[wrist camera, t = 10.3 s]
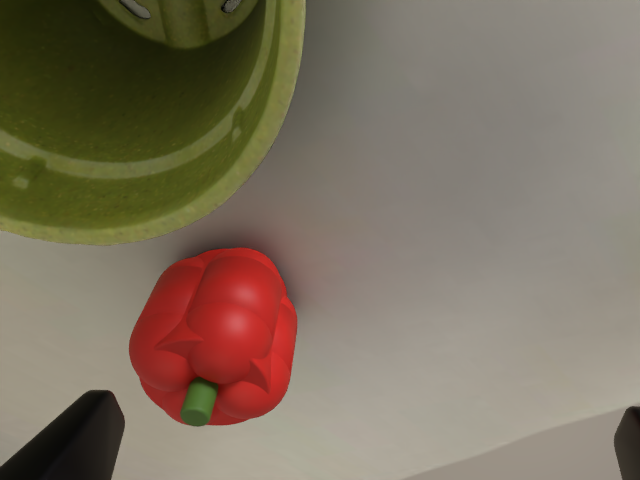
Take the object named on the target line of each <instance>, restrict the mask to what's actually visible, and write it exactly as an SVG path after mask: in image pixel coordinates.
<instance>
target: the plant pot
mask: <svg viewBox="0 0 640 480" xmlns="http://www.w3.org/2000/svg"><path fill="white" fill-rule="evenodd" d="M134 1H135V2H136V3H138V4H139V5H141V6H143V7H145V8H146V9H147V10H148V11H149V12H150V15H151V17H150V18H149V19H143V18H139V17H137V16H136V15H134V14H132V13H131V12H130V11H129V10H128V9H127V8H126V7H124V6H123V5H122V4H121V3H120V2H119V1H118V0H0V230H1V231H8V232H11V233H15V234H18V235H21V236H24V237H29V238H34V239H40V240H44V241H50V242H56V243H67V244H86V245H104V246H107V245H115V244H123V243H131V242H137V241H142V240H147V239H151V238H155V237H159V236H162V235H165V234H168V233H170V232H173V231H175V230H178V229H181V228H183V227H186V226H188V225H190V224H191V223H193V222H195V221H197V220H199V219H201V218H203V217H205V216H206V215H208V214H210V213H211V212H212V211H214V210H215V209H216V208H218V207H219V206H221V205H222V204H223V203H224V202H226V201H227V200H228V199H229V198H230V197H231V196H232V195H233V194H234V193H235V192H236V191H237V190H238V189H239V188H240V187H241V186H242V185H243V184H244V183H245V182H246V181H247V180H248V179H249V177H250V176H251V175H252V174H253V172H254V171H255V170H256V169H257V167H258V166H259V165H260V164H261V163H262V161H263V160H264V158H265V156H266V155H267V153H268V152H269V150H270V148H271V147H272V145H273V143H274V141H275V139H276V137H277V135H278V133H279V131H280V129H281V127H282V124H283V122H284V119H285V117H286V115H287V112H288V109H289V106H290V103H291V100H292V97H293V93H294V89H295V85H296V81H297V77H298V72H299V68H300V62H301V56H302V49H303V40H304V31H305V14H306V0H241V2H240V3H239V5H238V7H236V8H235V9H234V11H233V12H228V13H224V12H223V11H221V6H222V5H223V4H224V3H225V1H226V0H134Z"/></svg>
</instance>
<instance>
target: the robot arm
mask: <svg viewBox="0 0 640 480" xmlns="http://www.w3.org/2000/svg"><path fill="white" fill-rule="evenodd" d="M124 427H125V420H124V415H123V413H122V411H121V409H120V407H119V405H118V402H117V400H116V398H115V396H114V394H113V393H112V392H111V391H109V390H90V391H88V392H86V393H84V394H83V395H82V396H81V397H80V398H79V399H77V400H76V401H75V402H74V403H73V404H72V405H71V406H69V407H68V408H67V409H66V410H65V411H64V412H63V413H61V414H60V415H59V416H58V417H57V418H56V419H55V420H53V421H52V422H51V423H50V424H49V425H48V426H47V427H45V428H44V429H43V430H42V431H41V432H40V433H39V434H37V435H36V436H35V437H34V438H33V439H32V440H31V441H29V442H28V443H27V444H26V445H25V446H24V447H23V448H21V449H20V450H19V451H18V452H17V453H16V454H15V455H13V456H12V457H11V458H10V459H9V460H8V461H7V462H5V463H4V464H3V465H2V466H1V467H0V480H111V478H112V474H113V470H114V466H115V462H116V459H117V455H118V451H119V447H120V443H121V440H122V436H123V432H124ZM614 447H615V452H616V456H617V459H618V464H619V467H620V471H621V475H622V479H623V480H640V407H637V406H632V407H629V408H628V409H626V411H625V413H624V416H623V418H622V420H621V422H620V424H619V426H618V428H617V431H616V433H615V436H614Z"/></svg>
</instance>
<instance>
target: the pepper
mask: <svg viewBox="0 0 640 480" xmlns="http://www.w3.org/2000/svg"><path fill="white" fill-rule="evenodd" d="M296 334H297V315H296V312H295V309H294V306H293V305H292V303H291V301H290V300H289V299H288V298H287V292H286V287H285V284H284V282H283V280H282V278H281V276H280V275H279V272H278V270H277V268H276V267H275V265H274V264H273V262H272V261H271V260H270V259H269V258H268V257H266V256H265V255H264V254H262V253H260V252H259V251H256V250H253V249H249V248H232V249H215V250H210V251H207V252H204V253H202V254H199V255H198V256H196V257H192V258H186V259H183V260H180V261H177V262H176V263H174V264H172V265H171V266H170V267H168V268H167V269H166V270H165V271H164V272H163V274H162V275H161V276H160V278H159V279H158V281H157V283H156V285H155V287H154V289H153V291H152V293H151V295H150V297H149V299H148V301H147V303H146V305H145V307H144V309H143V311H142V313H141V315H140V317H139V319H138V321H137V323H136V325H135V327H134V329H133V332H132V334H131V338H130V342H129V355H130V360H131V363H132V366H133V368H134V370H135V371H136V373H137V375H138V376H139V378H140V382H141V385H142V387H143V389H144V391H145V392H146V394H147V395H148V396H149V397H150V399H151V400H152V401H153V402H154V403H156V404H157V405H158V406H159V407H161V408H162V409H163V410H164V411H165V412H166V413H167V414H168V415H169V416H170V417H171V418H173V419H174V420H176V421H178V422H180V423H183V424H186V425H191V426H204V425H231V424H236V423H240V422H244V421H246V420H248V419H251V418H256V417H260V416H262V415H264V414H266V413H268V412H269V411H271V410H273V409H274V408H275V407H276V406H277V405H278V404H279V403H280V401H281V400H282V398H283V397H284V395H285V393H286V391H287V389H288V385H289V382H290V376H291V369H292V362H293V355H294V348H295V341H296Z"/></svg>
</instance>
